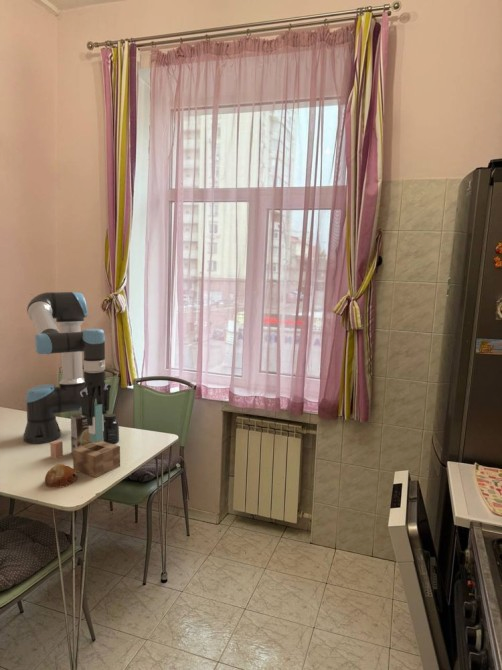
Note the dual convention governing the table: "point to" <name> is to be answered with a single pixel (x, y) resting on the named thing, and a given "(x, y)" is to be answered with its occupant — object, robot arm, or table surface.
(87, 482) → the table surface
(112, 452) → the hole block
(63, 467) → the bread roll
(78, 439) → the coffee box
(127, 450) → the table surface
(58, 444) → the short peg
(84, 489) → the table surface
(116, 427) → the supplement bottle
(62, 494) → the table surface
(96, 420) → the long peg
